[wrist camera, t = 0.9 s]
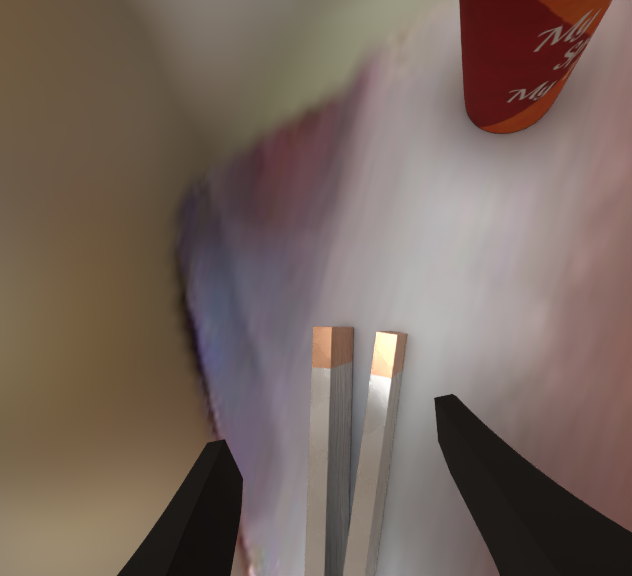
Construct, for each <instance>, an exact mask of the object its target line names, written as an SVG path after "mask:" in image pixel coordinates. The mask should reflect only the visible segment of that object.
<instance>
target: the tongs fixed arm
mask: <svg viewBox="0 0 632 576" xmlns="http://www.w3.org/2000/svg"><path fill="white" fill-rule="evenodd" d="M406 341H407V334H406V333H400V332H394V331H381V332H377V333H376V341H375V348H374V355H373V362H372V369H371V377H370V384H369V391H368V398H367V405H366V413H365V420H364V427H363V434H362V441H361V449H360V456H359V463H358V470H357V477H356V485H355V492H354V499H353V506H352V513H351V520H350V528H349V535H348V542H347V549H346V556H345V564H344V571H343V576H375V573H376V565H377V558H378V550H379V543H380V535H381V528H382V520H383V513H384V505H385V498H386V490H387V483H388V475H389V468H390V461H391V453H392V446H393V438H394V431H395V423H396V416H397V408H398V401H399V393H400V386H401V378H402V371H403V363H404V356H405V348H406Z"/></svg>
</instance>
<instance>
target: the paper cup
mask: <svg viewBox="0 0 632 576" xmlns="http://www.w3.org/2000/svg"><path fill="white" fill-rule="evenodd" d="M459 2H460V25H461V46H462V67H463V85H464V99H465V106H466V110H467V113H468V116H469V117H470V119H471V120H472V122H473V123H474V124H475V125H476V126H478V127H479V128H481V129H483V130H485V131H488V132H492V133H500V134H503V133H512V132H516V131H520V130H522V129H525V128H527V127H529V126H531V125H532V124H534V123H535V122H537V121H538V120H539V119H540V118H541V117H542V116H543V115H544V114H545V113H546V112H547V111H548V110H549V108H550V107H551V105H552V104H553V102H554V101H555V99H556V97H557V96H558V94H559V93H560V91H561V89H562V88H563V86H564V84H565V82H566V81H567V79H568V77H569V75H570V74H571V72H572V70H573V69H574V67H575V65H576V63H577V62H578V60H579V58H580V56H581V55H582V53H583V51H584V49H585V48H586V46H587V44H588V42H589V41H590V39H591V37H592V35H593V34H594V32H595V30H596V28H597V27H598V25H599V23H600V21H601V19H602V18H603V16H604V14H605V12H606V11H607V9H608V7H609V5H610V4H611V2H612V0H459Z"/></svg>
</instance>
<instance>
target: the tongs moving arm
mask: <svg viewBox="0 0 632 576" xmlns="http://www.w3.org/2000/svg"><path fill="white" fill-rule="evenodd" d="M352 360H353V327H317V326H314V327H313V355H312V383H311V411H310V439H309V467H308V495H307V524H306V552H305V576H343V571H344V564H345V556H346V549H347V542H348V527H349V485H350V443H351V401H352Z"/></svg>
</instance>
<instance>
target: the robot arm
mask: <svg viewBox="0 0 632 576" xmlns="http://www.w3.org/2000/svg"><path fill="white" fill-rule="evenodd" d="M434 399H435V410H436V421H437V432H438V442H439V444H440V447H441V450H442V452H443V455H444V458H445V460H446V463H447V465H448V468H449V470H450V473H451V475H452V477H453V479H454V481H455V483H456V485H457V487H458V489H459V491H460V493H461V495H462V497H463V499H464V501H465V503H466V505H467V507H468V509H469V511H470V513H471V515H472V517H473V519H474V521H475V523H476V525H477V527H478V529H479V531H480V533H481V535H482V537H483V539H484V541H485V543H486V544H487V547H488V549H489V551H490V553H491V555H492V557H493V559H494V562H495V564H496V566H497V569H498V571H499V574H500V576H632V532H630V531H628V530H627V529H625V528H623V527H622V526H620V525H619V524H617V523H615V522H614V521H612V520H610V519H609V518H607V517H606V516H604V515H602V514H601V513H599V512H598V511H596V510H595V509H593V508H592V507H590V506H589V505H587V504H586V503H584V502H583V501H581V500H580V499H578V498H577V497H575V496H574V495H572V494H571V493H570V492H568V491H567V490H565V489H564V488H563V487H561V486H560V485H558V484H557V483H556V482H554V481H553V480H552V479H550V478H549V477H548V476H546V475H545V474H544V473H542V472H541V471H540V470H538V469H537V468H536V467H535V466H533V465H532V464H531V463H529V462H528V461H527V460H526V459H524V458H523V457H522V456H521V455H520V454H518V453H517V452H516V451H515V450H513V449H512V448H511V447H510V446H509V445H508V444H506V443H505V442H504V441H503V440H502V439H501V438H500V437H498V436H497V435H496V434H495V433H494V432H493V431H492V430H491V429H489V428H488V427H487V426H486V425H485V424H484V423H483V422H482V421H481V420H480V419H479V418H478V417H477V416H475V415H474V414H473V413H472V412H471V411H470V410H469V409H468V408H467V407H466V406H465V405H464V404H463V403H462V402H461V401H460V400H459V399H458V398H457V397H456V396H455V395H453V394H451V395H446V396H441V397H436V398H434ZM242 489H243V477H242V475H241V473H240V471H239V469H238V467H237V465H236V462H235V460H234V458H233V456H232V454H231V452H230V449H229V447H228V445H227V443H226V441H225V439H224V440H219V441H214V442H209V443H207V445H206V446H205V448H204V449H203V451H202V452H201V454H200V456H199V458H198V459H197V461H196V462H195V464H194V466H193V467H192V469H191V470H190V472H189V474H188V475H187V477H186V478H185V480H184V482H183V483H182V485H181V486H180V488H179V490H178V491H177V492H176V494H175V495H174V497H173V499H172V501H171V502H170V503H169V505H168V506H167V508H166V510H165V511H164V512H163V514H162V515H161V517H160V518H159V520H158V521H157V522H156V524H155V525H154V527H153V528H152V530H151V531H150V532H149V534H148V535H147V537H146V538H145V540H144V541H143V542H142V544H141V545H140V546H139V548H138V549H137V551H136V552H135V553H134V554H133V556H132V557H131V558H130V560H129V561H128V562H127V564H126V565H125V566H124V567H123V569H122V570H121V571H120V572H119V574H118V575H117V576H230V575H231V569H232V563H233V557H234V552H235V546H236V540H237V534H238V528H239V522H240V516H241V506H242Z"/></svg>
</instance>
